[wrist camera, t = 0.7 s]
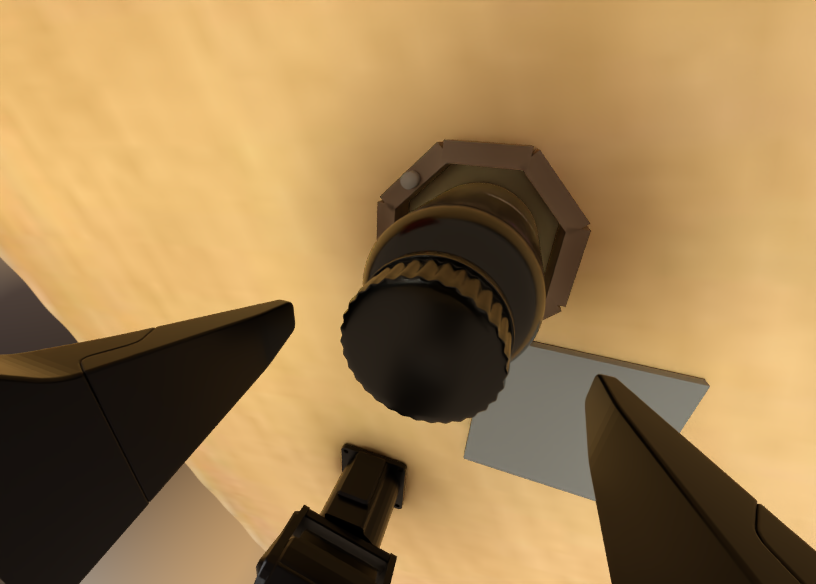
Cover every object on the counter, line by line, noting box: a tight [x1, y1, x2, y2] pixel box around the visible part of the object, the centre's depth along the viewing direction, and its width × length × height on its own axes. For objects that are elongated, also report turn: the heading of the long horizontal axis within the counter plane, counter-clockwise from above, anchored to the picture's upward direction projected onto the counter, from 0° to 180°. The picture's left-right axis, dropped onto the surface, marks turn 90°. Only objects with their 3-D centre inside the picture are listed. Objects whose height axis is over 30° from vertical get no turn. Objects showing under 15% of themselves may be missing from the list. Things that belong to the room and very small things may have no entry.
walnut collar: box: [377, 140, 591, 320], centre depth 17 cm, size 10×10×3 cm
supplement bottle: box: [340, 182, 546, 424], centre depth 14 cm, size 7×7×12 cm
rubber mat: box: [464, 341, 710, 501], centre depth 22 cm, size 12×12×1 cm
